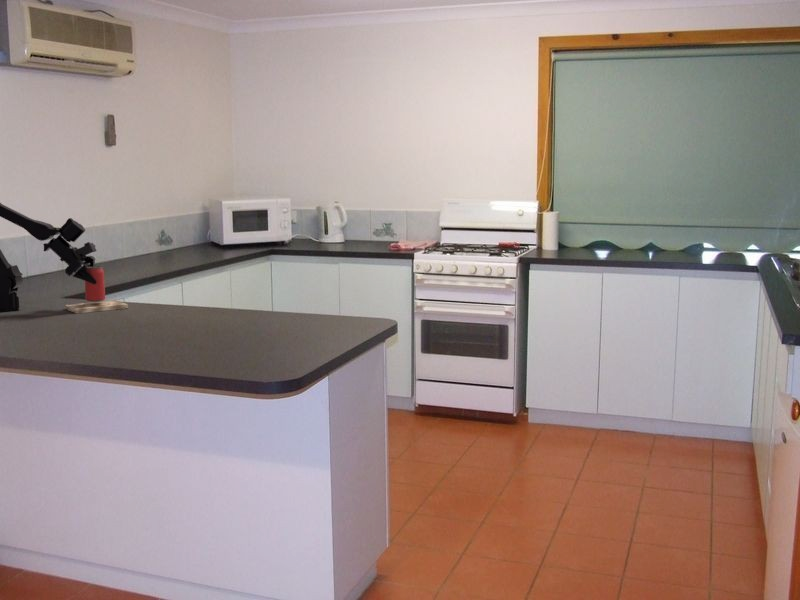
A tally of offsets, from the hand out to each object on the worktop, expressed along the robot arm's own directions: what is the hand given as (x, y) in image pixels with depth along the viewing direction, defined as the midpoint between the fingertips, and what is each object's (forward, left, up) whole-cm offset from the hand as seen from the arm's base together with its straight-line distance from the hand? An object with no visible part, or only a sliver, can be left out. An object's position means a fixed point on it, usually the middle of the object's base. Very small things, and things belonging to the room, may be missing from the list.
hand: (98, 282), depth 302 cm
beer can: (-1, +1, -7) cm, 7 cm away
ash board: (-1, +1, -10) cm, 10 cm away
